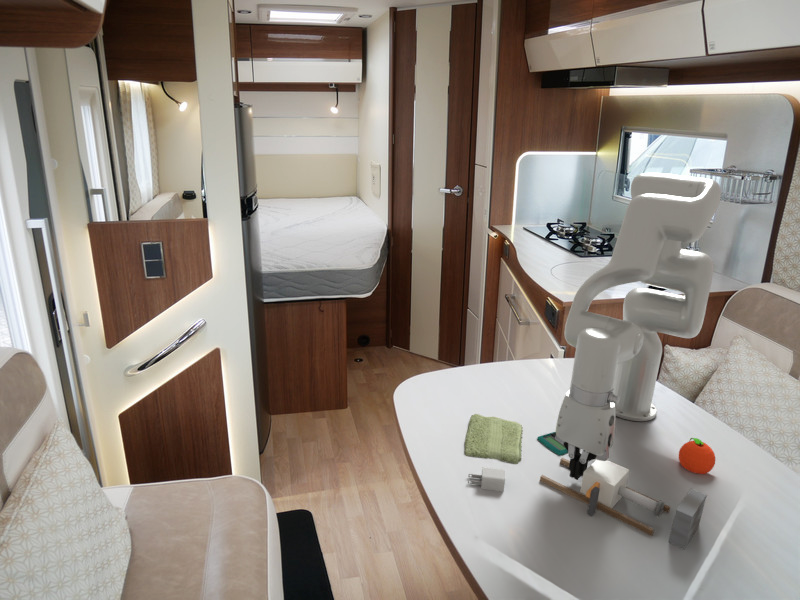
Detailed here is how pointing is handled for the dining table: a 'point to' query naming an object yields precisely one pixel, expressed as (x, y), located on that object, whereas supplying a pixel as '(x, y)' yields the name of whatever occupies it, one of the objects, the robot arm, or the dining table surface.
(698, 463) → the clementine
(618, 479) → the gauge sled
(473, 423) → the washcloth
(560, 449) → the digital multimeter
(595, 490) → the dark grey block
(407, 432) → the dining table surface
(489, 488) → the usb wall charger
